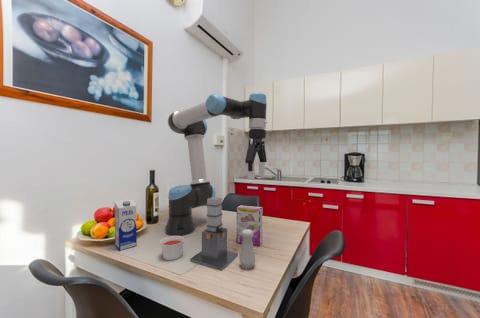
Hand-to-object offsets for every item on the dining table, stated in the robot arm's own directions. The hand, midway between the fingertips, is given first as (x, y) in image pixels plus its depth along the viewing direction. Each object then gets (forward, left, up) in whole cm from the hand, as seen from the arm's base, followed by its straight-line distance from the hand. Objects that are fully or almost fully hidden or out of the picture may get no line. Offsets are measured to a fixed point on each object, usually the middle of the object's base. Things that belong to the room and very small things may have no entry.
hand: (256, 177), depth 90 cm
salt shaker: (+4, -18, -30) cm, 35 cm away
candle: (-26, -25, -30) cm, 47 cm away
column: (-10, -19, -29) cm, 36 cm away
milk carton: (-51, -28, -30) cm, 65 cm away
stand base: (-10, -19, -30) cm, 37 cm away
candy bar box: (-4, 0, -30) cm, 31 cm away
